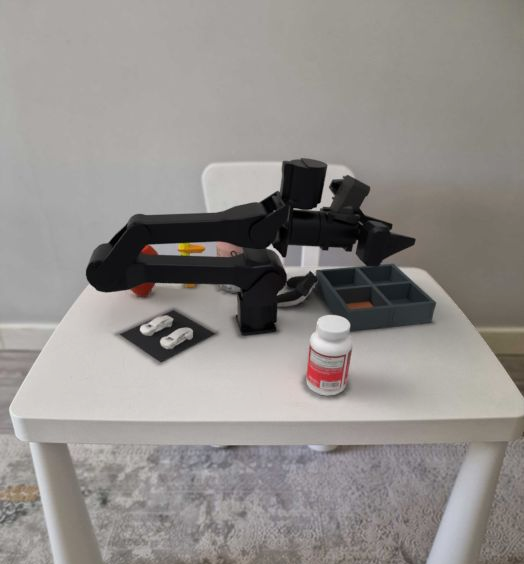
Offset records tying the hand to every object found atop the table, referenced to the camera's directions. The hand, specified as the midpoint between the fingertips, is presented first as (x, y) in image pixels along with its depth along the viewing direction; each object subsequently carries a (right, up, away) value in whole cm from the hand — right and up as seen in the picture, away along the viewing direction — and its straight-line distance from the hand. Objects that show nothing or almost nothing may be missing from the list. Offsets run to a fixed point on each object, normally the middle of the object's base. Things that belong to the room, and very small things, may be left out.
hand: (402, 233), depth 78 cm
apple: (-48, -9, +15) cm, 51 cm away
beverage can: (-29, -6, +19) cm, 35 cm away
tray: (-3, -11, +13) cm, 17 cm away
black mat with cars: (-41, -17, +3) cm, 45 cm away
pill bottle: (-14, -25, -8) cm, 30 cm away
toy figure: (-39, -6, +19) cm, 44 cm away
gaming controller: (-17, -10, +15) cm, 25 cm away
